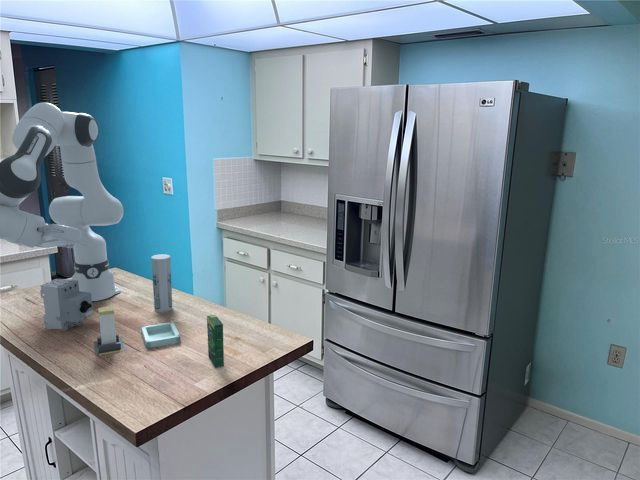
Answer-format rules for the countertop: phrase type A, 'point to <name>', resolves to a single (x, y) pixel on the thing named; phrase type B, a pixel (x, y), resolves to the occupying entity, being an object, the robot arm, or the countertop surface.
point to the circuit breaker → (64, 304)
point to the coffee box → (215, 341)
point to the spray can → (162, 282)
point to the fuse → (107, 325)
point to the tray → (160, 334)
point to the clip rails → (108, 346)
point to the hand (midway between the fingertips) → (80, 244)
